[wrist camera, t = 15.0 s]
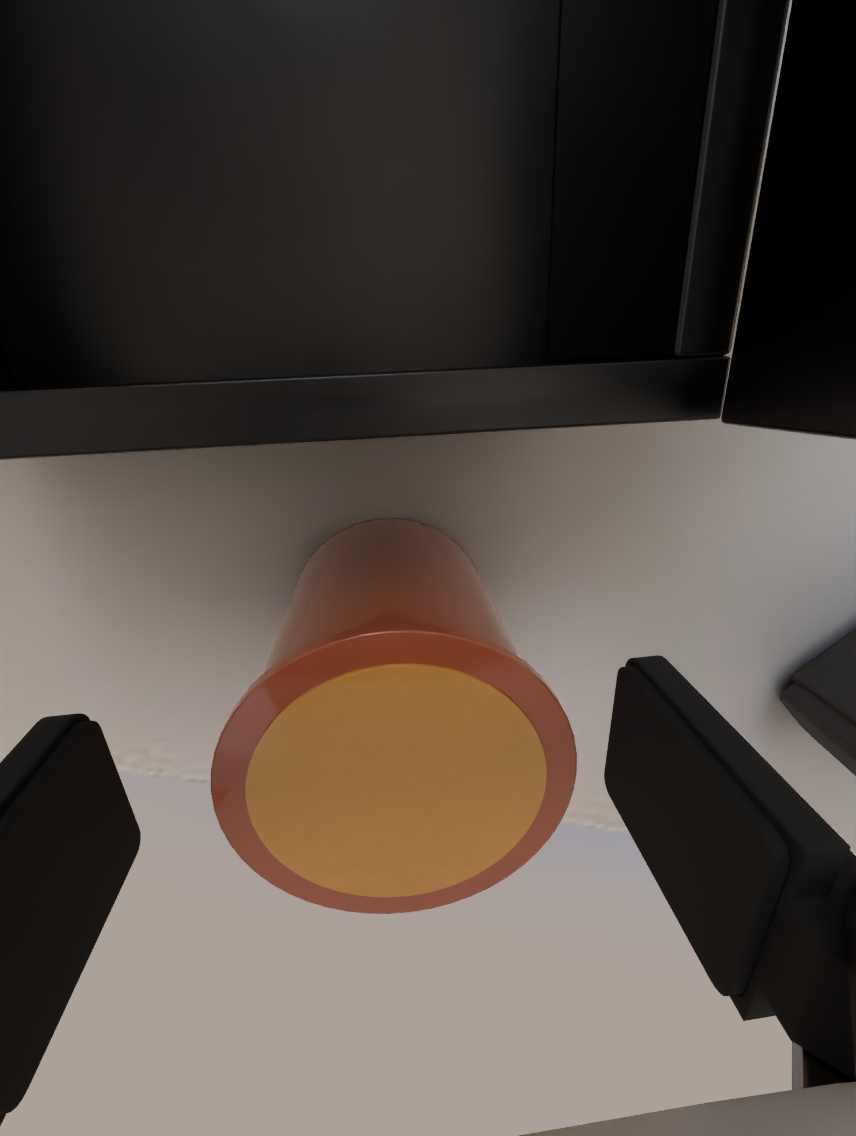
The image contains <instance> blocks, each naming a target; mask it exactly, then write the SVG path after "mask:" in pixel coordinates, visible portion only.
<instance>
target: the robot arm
mask: <svg viewBox="0 0 856 1136" xmlns="http://www.w3.org/2000/svg"><path fill="white" fill-rule="evenodd" d="M604 778H605V784H606V788H607V791H608V793H609V796H610V798H611V799H612V801H613V803H614V805H615V807H616V808H617V810H618V812H619V814H620V816H621V818H622V819H623V821H624V823H625V825H626V827H627V829H628V830H629V832H630V834H631V836H632V838H633V839H634V841H635V843H636V845H637V847H638V848H639V850H640V852H641V854H642V856H643V857H644V860H645V861H646V863H647V865H648V867H649V869H650V870H651V872H652V874H653V876H654V878H655V879H656V881H657V883H658V885H659V887H660V889H661V891H662V892H663V894H664V896H665V898H666V900H667V901H668V903H669V905H670V907H671V909H672V911H673V912H674V914H675V916H676V918H677V920H678V921H679V923H680V925H681V927H682V929H683V931H684V933H685V934H686V936H687V938H688V940H689V942H690V943H691V945H692V947H693V949H694V951H695V953H696V954H697V956H698V958H699V960H700V962H701V964H702V965H703V967H704V969H705V971H706V973H707V975H708V976H709V978H710V980H711V981H712V983H713V985H714V986H715V988H716V989H717V990H718V992H720V993H721V994H722V995H723V996H730V997H731V999H732V1001H733V1003H734V1005H735V1006H736V1008H737V1010H738V1011H739V1013H740V1015H741V1017H742V1019H743V1020H744V1021H746V1020H751V1019H758V1018H764V1017H769V1016H775V1015H776V1016H777V1018H778V1020H779V1021H780V1023H781V1024H782V1026H783V1028H784V1030H785V1031H786V1033H787V1035H788V1036H789V1038H790V1039H791V1041H792V1090H790V1091H783V1092H776V1093H770V1094H763V1095H756V1096H750V1097H744V1098H737V1099H730V1100H724V1101H717V1102H710V1103H704V1104H698V1105H692V1106H687V1107H681V1108H675V1109H669V1110H664V1111H658V1112H652V1113H646V1114H641V1115H635V1116H629V1117H623V1118H618V1119H612V1120H607V1121H601V1122H595V1123H589V1124H583V1125H578V1126H572V1127H566V1128H561V1129H555V1130H549V1131H544V1132H538V1133H532V1134H526V1135H520V1136H856V856H855V855H854V854H853V853H852V852H851V851H850V846H849V845H848V844H847V843H846V842H845V841H844V840H843V839H842V838H841V837H840V836H839V835H838V834H837V833H836V832H835V831H834V830H833V829H832V828H831V827H830V826H829V825H828V824H827V823H826V821H825V820H824V819H823V818H822V817H821V816H820V815H819V814H818V813H817V812H816V811H815V810H814V809H813V808H812V807H811V806H810V805H809V804H808V803H807V802H806V801H805V800H804V799H803V798H802V797H801V796H800V795H799V794H798V793H797V792H796V791H795V790H794V789H793V788H792V787H791V786H790V785H789V784H788V783H787V782H786V781H785V780H784V779H783V778H782V777H781V776H780V775H779V774H778V773H777V772H776V771H775V770H774V769H773V767H772V766H771V765H770V764H769V763H768V762H767V761H766V760H765V759H764V758H763V757H762V756H761V755H760V754H759V753H758V752H757V751H756V750H755V749H754V748H753V747H752V746H751V745H750V744H749V743H748V742H747V741H746V740H745V739H744V738H743V737H742V736H741V735H740V734H739V733H738V732H737V731H736V730H735V729H734V728H733V727H732V726H731V725H730V724H729V723H728V722H727V721H726V720H725V719H724V718H723V717H722V716H721V715H720V713H719V712H718V711H717V710H716V709H715V708H714V707H713V706H712V705H711V704H710V703H709V702H708V701H707V700H706V699H705V698H704V697H703V696H702V695H701V694H700V693H699V692H698V691H697V690H696V689H695V688H694V687H693V686H692V685H691V684H690V683H689V682H688V681H687V680H686V679H685V678H684V677H683V676H682V675H681V674H680V673H679V672H678V671H677V670H676V669H675V668H674V667H673V666H672V665H671V664H670V663H669V662H668V660H667V659H665V658H664V657H663V656H649V657H639V658H631V659H629V660H628V661H627V663H626V666H625V667H621V668H620V669H619V670H618V674H617V682H616V689H615V697H614V704H613V712H612V720H611V727H610V735H609V742H608V750H607V757H606V765H605V773H604ZM139 846H140V830H139V827H138V824H137V822H136V819H135V816H134V814H133V811H132V808H131V806H130V803H129V800H128V798H127V795H126V793H125V790H124V787H123V785H122V782H121V779H120V777H119V774H118V772H117V769H116V766H115V764H114V761H113V758H112V756H111V753H110V751H109V748H108V745H107V743H106V740H105V738H104V735H103V732H102V730H101V727H100V725H99V724H98V723H97V722H96V721H90V719H89V717H87V716H86V715H85V714H70V715H60V716H50V717H45V718H42V719H41V720H40V721H38V722H37V723H36V724H35V725H34V726H33V727H32V729H31V730H30V731H29V732H28V733H27V734H26V735H25V736H24V737H23V738H22V740H21V741H20V742H19V743H18V744H17V745H16V746H15V747H14V748H13V750H12V751H11V752H10V753H9V754H8V755H7V756H6V757H5V758H4V759H3V761H2V762H1V763H0V1125H1V1123H2V1121H3V1119H4V1117H5V1115H6V1113H9V1112H11V1111H12V1110H14V1109H15V1108H16V1107H17V1106H18V1104H19V1103H20V1102H21V1100H22V1099H23V1097H24V1095H25V1093H26V1091H27V1089H28V1087H29V1085H30V1083H31V1081H32V1078H33V1076H34V1074H35V1072H36V1070H37V1068H38V1066H39V1064H40V1061H41V1059H42V1057H43V1055H44V1053H45V1051H46V1049H47V1046H48V1044H49V1042H50V1040H51V1038H52V1036H53V1034H54V1031H55V1029H56V1027H57V1025H58V1023H59V1021H60V1018H61V1016H62V1014H63V1012H64V1010H65V1008H66V1006H67V1003H68V1001H69V999H70V997H71V995H72V992H73V990H74V988H75V986H76V984H77V982H78V980H79V978H80V975H81V973H82V971H83V969H84V967H85V965H86V962H87V960H88V958H89V956H90V954H91V952H92V949H93V948H94V945H95V943H96V941H97V939H98V937H99V935H100V932H101V930H102V928H103V926H104V924H105V922H106V919H107V917H108V915H109V913H110V911H111V909H112V907H113V904H114V902H115V900H116V898H117V896H118V894H119V892H120V889H121V887H122V885H123V883H124V881H125V879H126V876H127V874H128V872H129V870H130V868H131V866H132V864H133V861H134V859H135V857H136V855H137V852H138V850H139Z"/></svg>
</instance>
